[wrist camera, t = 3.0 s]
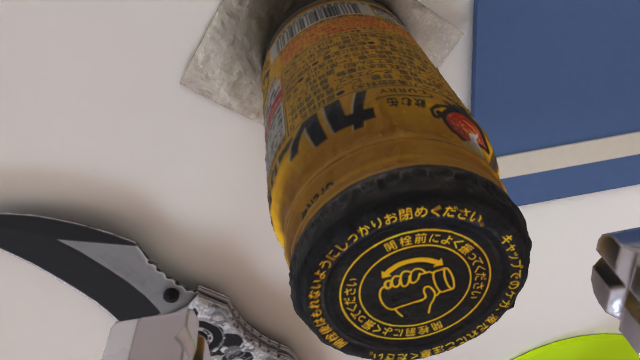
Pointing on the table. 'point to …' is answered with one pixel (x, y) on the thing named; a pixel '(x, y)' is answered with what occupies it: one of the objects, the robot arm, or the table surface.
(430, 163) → the condiment
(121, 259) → the knife
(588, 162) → the blue board
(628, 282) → the robot arm
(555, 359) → the toy cauldron
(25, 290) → the table surface
